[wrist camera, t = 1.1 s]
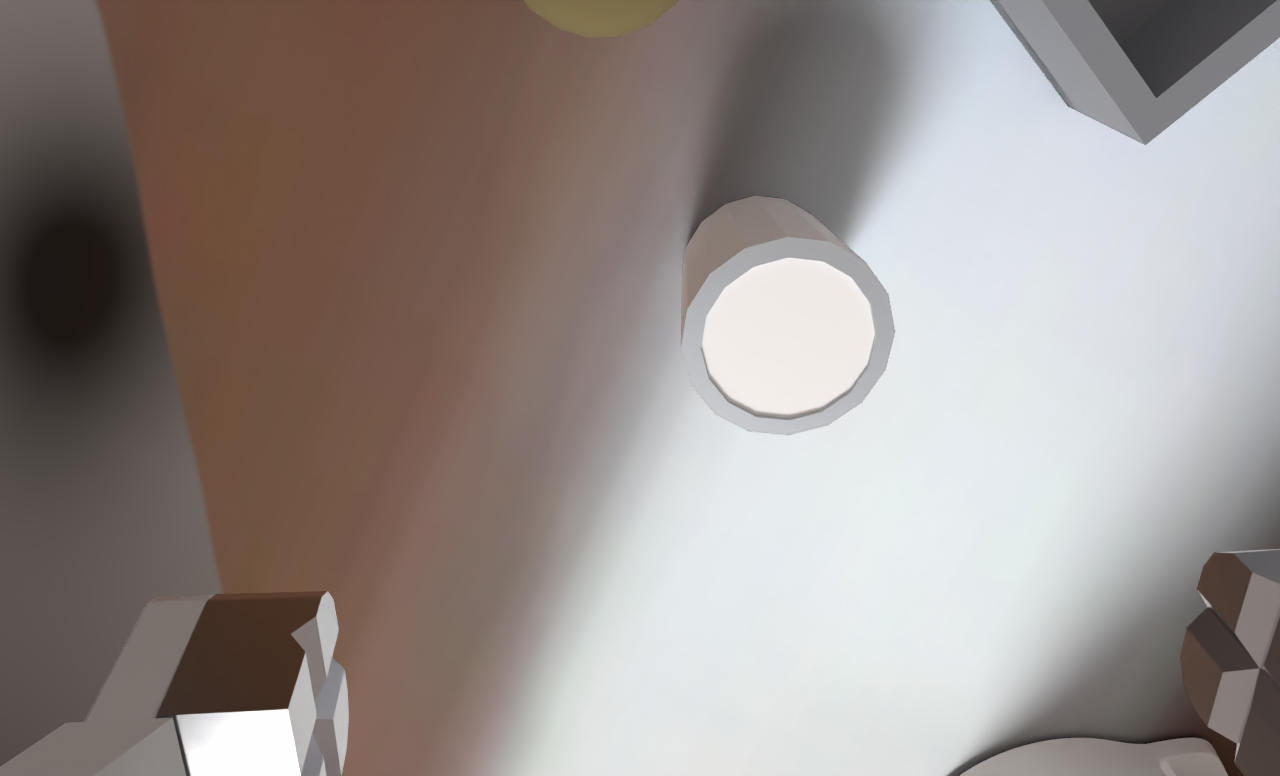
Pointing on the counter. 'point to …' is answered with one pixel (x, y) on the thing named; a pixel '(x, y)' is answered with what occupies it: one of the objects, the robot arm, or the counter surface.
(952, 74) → the counter surface
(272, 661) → the robot arm
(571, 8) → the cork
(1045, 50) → the bin
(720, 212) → the shot glass
